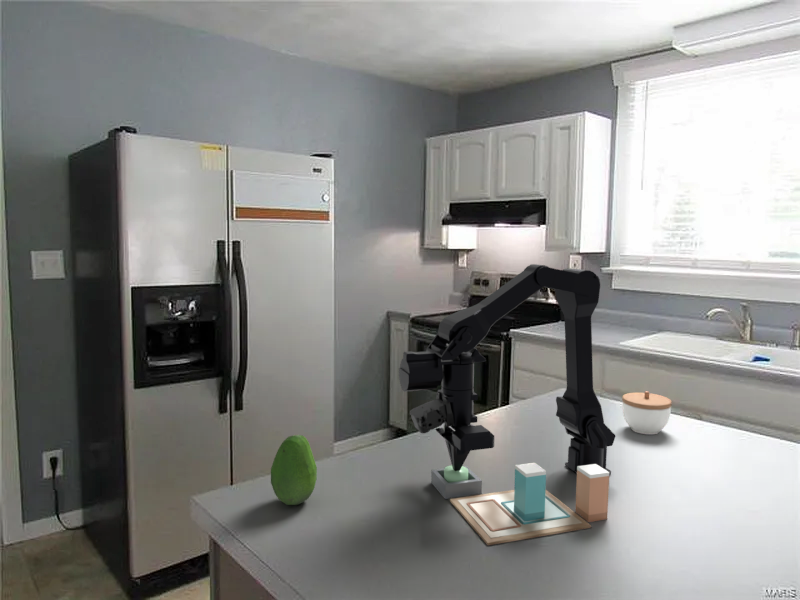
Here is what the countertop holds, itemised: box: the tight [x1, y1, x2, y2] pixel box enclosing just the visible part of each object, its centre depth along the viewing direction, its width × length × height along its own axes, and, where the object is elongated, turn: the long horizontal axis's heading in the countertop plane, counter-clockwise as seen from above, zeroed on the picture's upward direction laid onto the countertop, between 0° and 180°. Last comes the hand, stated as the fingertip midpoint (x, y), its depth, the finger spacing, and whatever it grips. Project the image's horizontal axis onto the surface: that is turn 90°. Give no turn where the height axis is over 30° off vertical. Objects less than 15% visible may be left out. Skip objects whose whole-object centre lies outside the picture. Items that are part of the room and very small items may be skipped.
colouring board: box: [449, 489, 592, 546], centre depth 97 cm, size 18×15×1 cm
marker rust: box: [574, 464, 610, 523], centre depth 96 cm, size 4×4×8 cm
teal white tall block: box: [513, 462, 547, 521], centre depth 95 cm, size 4×4×8 cm
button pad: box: [430, 465, 483, 500], centre depth 106 cm, size 7×7×2 cm
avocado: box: [270, 434, 318, 506], centre depth 100 cm, size 8×8×12 cm
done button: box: [443, 464, 468, 483], centre depth 106 cm, size 4×4×3 cm
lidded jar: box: [621, 390, 673, 436], centre depth 137 cm, size 11×11×9 cm
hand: (456, 470), depth 106 cm, fingers closed, pressing on done button
